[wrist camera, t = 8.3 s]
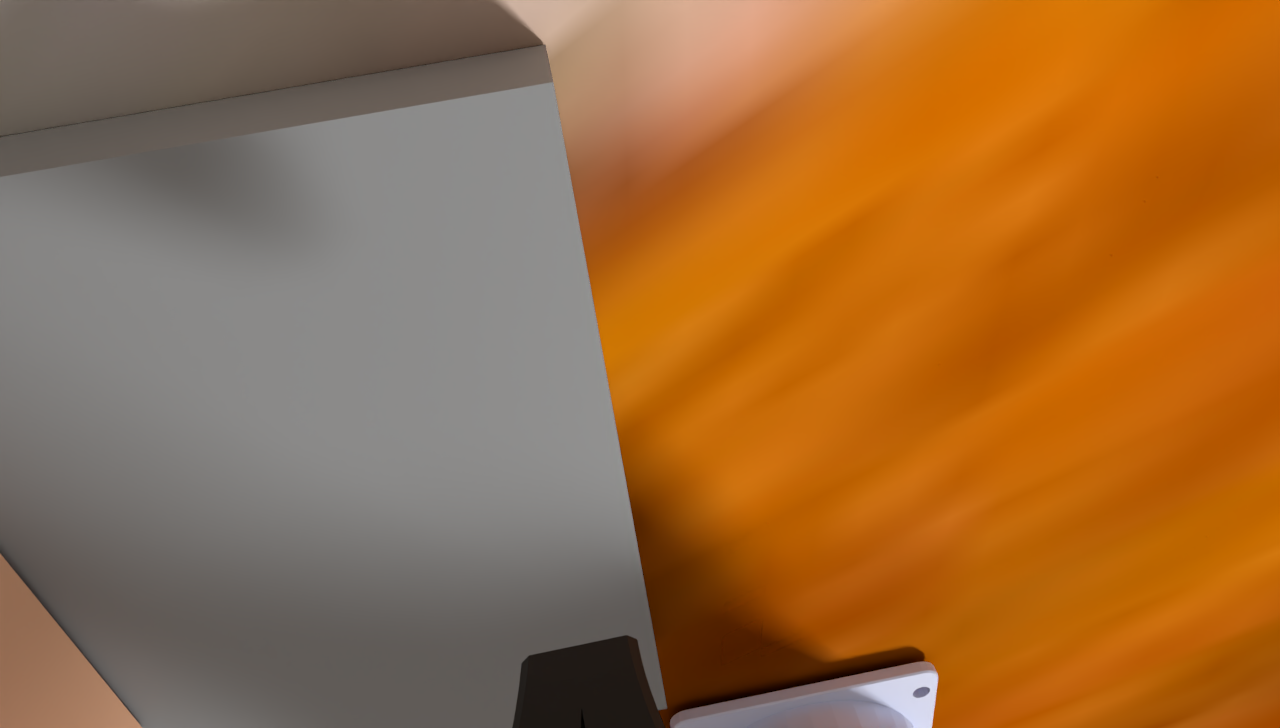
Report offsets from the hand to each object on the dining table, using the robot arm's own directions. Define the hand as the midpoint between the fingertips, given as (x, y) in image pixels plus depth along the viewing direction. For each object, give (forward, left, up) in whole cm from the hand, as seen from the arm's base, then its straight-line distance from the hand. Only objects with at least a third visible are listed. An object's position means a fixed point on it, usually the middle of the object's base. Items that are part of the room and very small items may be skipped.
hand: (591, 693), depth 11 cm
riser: (-2, +5, -8) cm, 10 cm away
